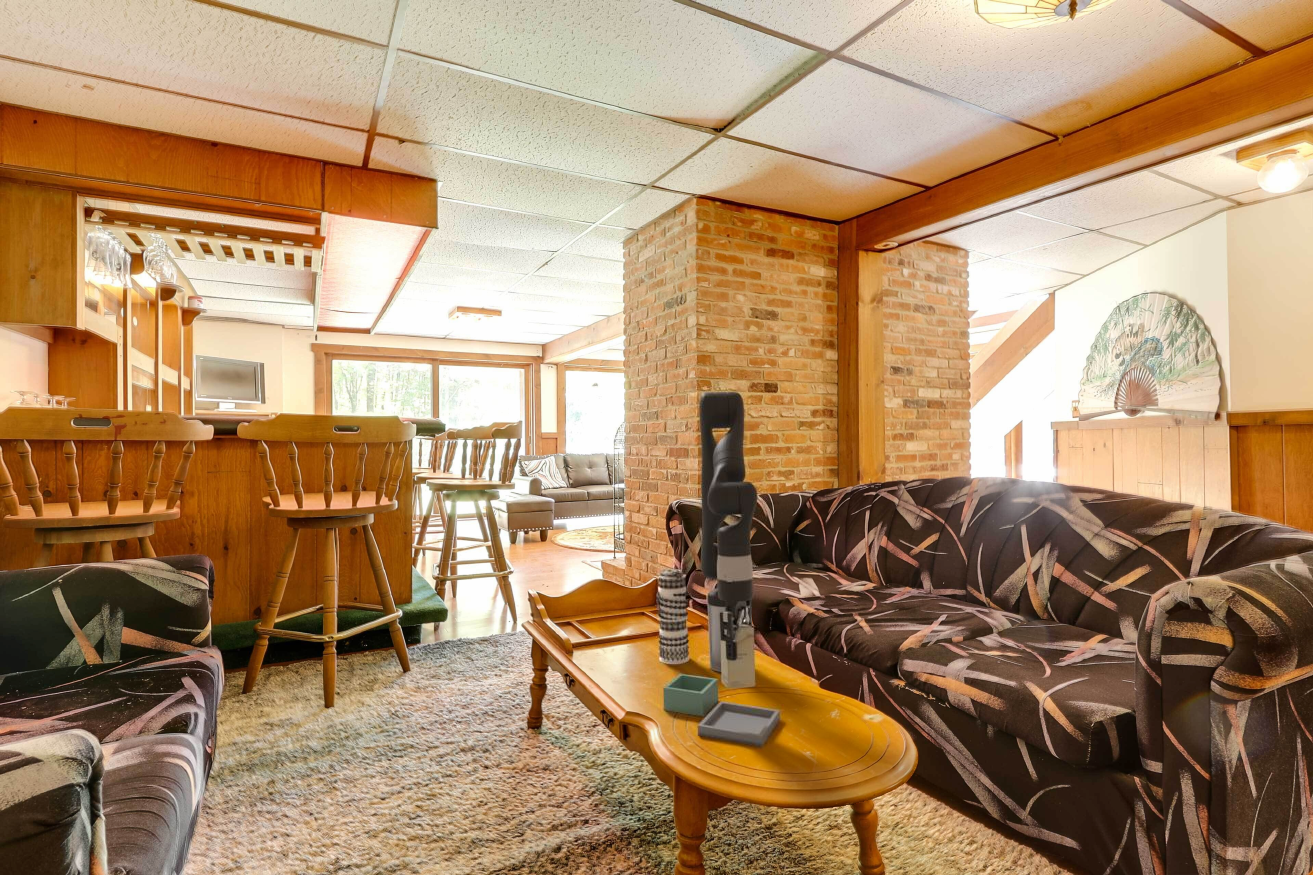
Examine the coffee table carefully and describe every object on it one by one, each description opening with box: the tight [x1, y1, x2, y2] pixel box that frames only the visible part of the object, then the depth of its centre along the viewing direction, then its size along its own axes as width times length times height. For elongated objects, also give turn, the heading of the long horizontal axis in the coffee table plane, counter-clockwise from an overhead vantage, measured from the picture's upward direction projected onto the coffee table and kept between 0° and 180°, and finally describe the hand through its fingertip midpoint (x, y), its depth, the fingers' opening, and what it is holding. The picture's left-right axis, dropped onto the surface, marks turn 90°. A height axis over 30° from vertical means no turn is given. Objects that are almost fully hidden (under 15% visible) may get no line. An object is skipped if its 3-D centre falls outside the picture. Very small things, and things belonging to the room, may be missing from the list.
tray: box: [697, 700, 781, 748], centre depth 133 cm, size 14×14×2 cm
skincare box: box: [720, 624, 756, 690], centre depth 133 cm, size 6×4×12 cm
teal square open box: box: [662, 673, 719, 717], centre depth 145 cm, size 10×10×5 cm
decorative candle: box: [656, 568, 690, 665], centre depth 178 cm, size 9×9×25 cm
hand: (737, 654), depth 133 cm, fingers closed on skincare box, 7 cm apart
